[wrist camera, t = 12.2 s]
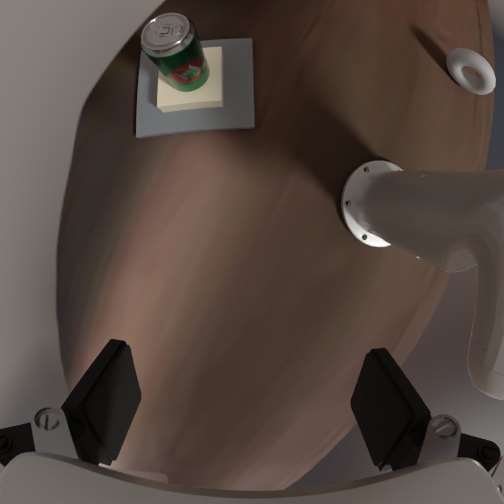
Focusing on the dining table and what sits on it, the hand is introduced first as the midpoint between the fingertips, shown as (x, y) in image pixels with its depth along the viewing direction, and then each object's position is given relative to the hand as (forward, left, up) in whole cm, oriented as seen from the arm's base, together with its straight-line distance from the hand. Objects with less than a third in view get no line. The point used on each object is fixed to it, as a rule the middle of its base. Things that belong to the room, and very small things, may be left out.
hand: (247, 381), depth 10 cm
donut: (-39, -29, -29) cm, 56 cm away
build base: (+6, -21, -29) cm, 36 cm away
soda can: (+6, -21, -25) cm, 33 cm away
